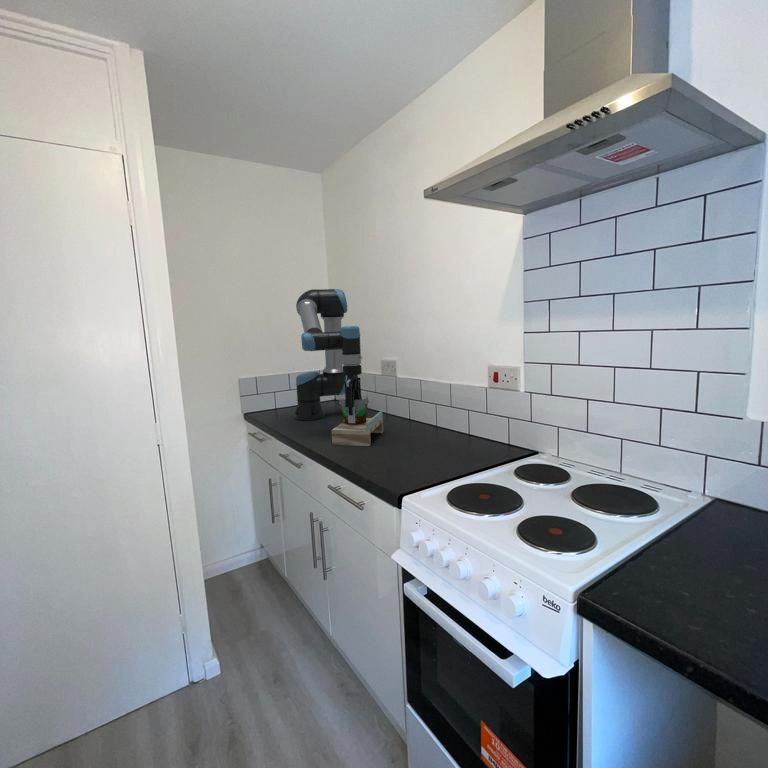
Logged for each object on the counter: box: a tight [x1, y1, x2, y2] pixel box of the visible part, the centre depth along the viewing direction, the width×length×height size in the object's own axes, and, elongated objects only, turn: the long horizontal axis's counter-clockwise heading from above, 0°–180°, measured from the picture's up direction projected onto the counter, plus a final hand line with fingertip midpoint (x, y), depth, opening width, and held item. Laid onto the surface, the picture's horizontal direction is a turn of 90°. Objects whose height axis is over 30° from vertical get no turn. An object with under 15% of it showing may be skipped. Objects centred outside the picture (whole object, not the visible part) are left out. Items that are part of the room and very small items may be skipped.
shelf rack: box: [331, 410, 384, 447], centre depth 171 cm, size 22×15×9 cm
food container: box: [338, 397, 370, 424], centre depth 170 cm, size 12×6×10 cm, turn 92°
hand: (354, 420), depth 171 cm, fingers closed on food container, 7 cm apart
